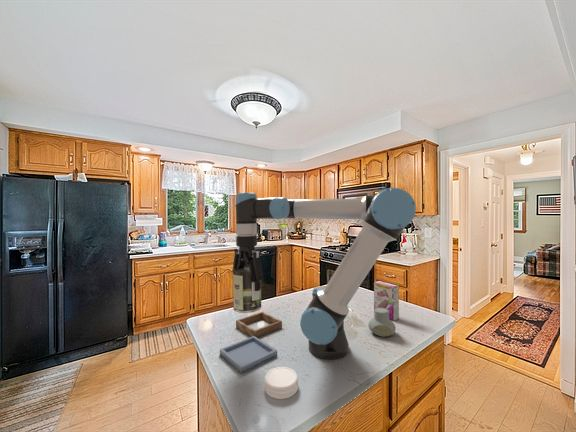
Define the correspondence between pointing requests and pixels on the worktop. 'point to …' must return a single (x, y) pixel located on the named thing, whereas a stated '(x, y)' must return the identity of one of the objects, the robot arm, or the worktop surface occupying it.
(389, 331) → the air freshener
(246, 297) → the coffee can
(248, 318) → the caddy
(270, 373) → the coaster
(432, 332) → the worktop surface
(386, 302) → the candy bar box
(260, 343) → the tray
